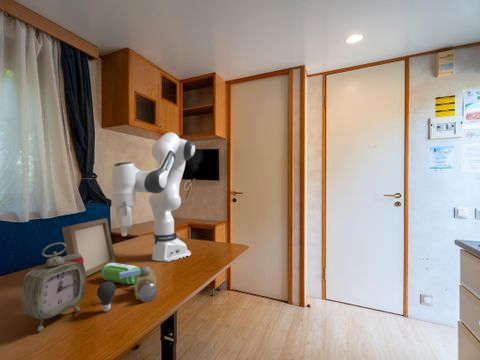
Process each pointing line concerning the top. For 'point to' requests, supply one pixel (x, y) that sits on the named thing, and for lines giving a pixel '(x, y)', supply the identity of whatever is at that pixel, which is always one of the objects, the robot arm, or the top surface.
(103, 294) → the light bulb
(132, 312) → the top surface
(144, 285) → the valve
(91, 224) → the photo frame
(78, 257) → the soda can
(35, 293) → the tabletop clock
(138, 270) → the lever
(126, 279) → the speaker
